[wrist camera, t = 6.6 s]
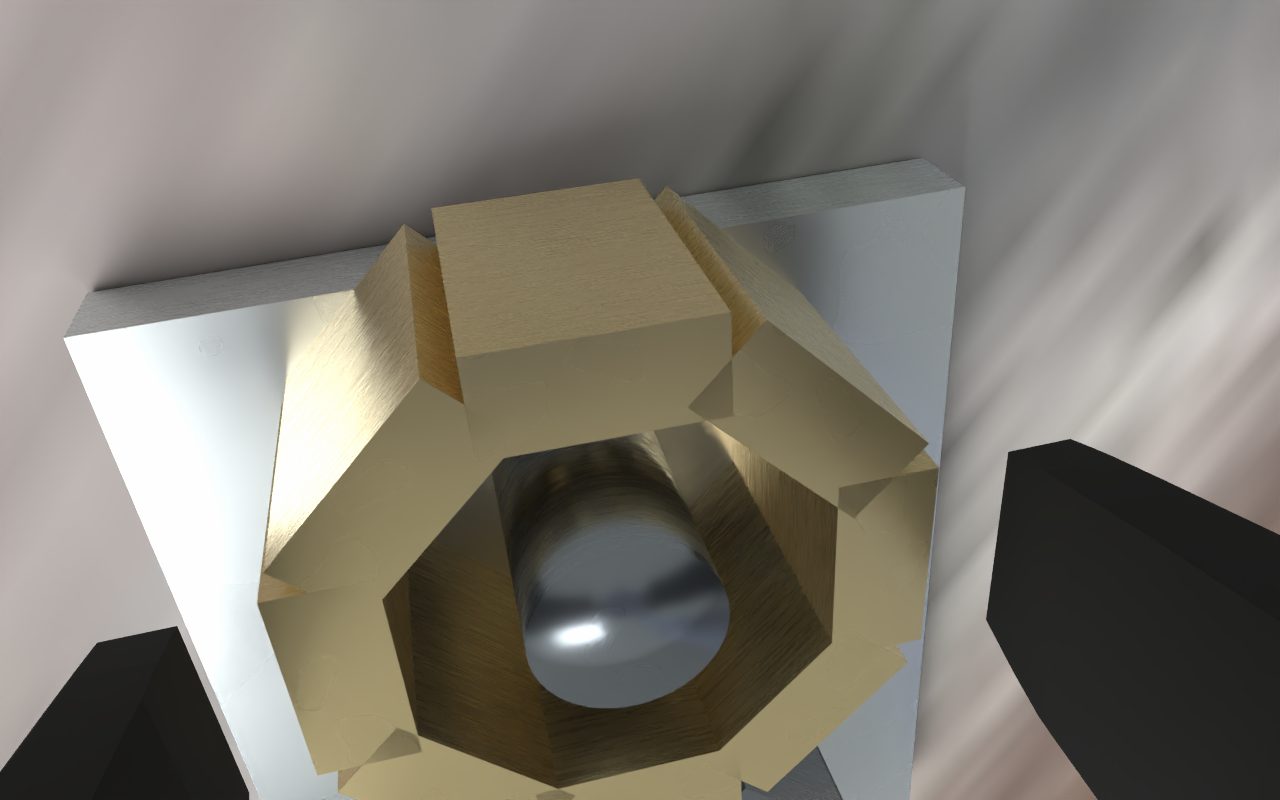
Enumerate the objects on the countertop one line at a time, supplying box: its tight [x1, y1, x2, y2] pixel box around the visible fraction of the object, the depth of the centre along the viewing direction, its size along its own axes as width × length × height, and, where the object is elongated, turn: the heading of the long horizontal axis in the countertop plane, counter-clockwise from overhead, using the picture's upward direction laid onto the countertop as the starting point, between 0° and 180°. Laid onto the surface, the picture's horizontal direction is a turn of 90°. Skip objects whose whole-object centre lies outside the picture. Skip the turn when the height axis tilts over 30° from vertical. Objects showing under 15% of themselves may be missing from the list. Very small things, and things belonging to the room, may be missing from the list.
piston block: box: [64, 158, 966, 800], centre depth 12 cm, size 9×12×4 cm
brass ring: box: [257, 178, 939, 800], centre depth 10 cm, size 6×6×3 cm
